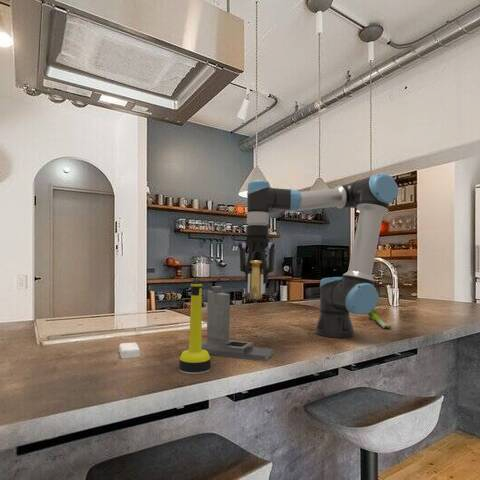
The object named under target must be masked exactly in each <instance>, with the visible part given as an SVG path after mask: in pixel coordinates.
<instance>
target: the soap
mask: <svg viewBox="0 0 480 480" xmlns="http://www.w3.org/2000/svg"><path fill="white" fill-rule="evenodd" d="M118 351H119V356H120V359H121V360H126V359H136V358H140V356H141V354H140V353H141V350H140V348H139V345H138V343H137V342H124V343H123V342H121V343H120V344H119V348H118Z"/></svg>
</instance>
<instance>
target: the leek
mask: <svg viewBox="0 0 480 480" xmlns="http://www.w3.org/2000/svg"><path fill="white" fill-rule="evenodd" d="M367 316H368V320H372V318H373V319H374V320H375V321H376V322H377V324H378V325H379V326H380V327H381V328H382V329H385V328H387V329H388V328H389V329H388V330H390V329H392V330H393V328H392V327H391V325H389V324H388V323H386V322H384V320H382V319H381V317H379V315H378V312H377V309H376V308H374V309H373V310H372V311H371V312H369V313H368V314H367Z"/></svg>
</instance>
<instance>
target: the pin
mask: <svg viewBox="0 0 480 480" xmlns="http://www.w3.org/2000/svg"><path fill="white" fill-rule="evenodd" d="M250 263H251V273H250V274H251V293H250V299H252V300H261V299H263V294H261V274H263V270H262V261H261V260H257V259H255V260H254V259H253V260H250Z"/></svg>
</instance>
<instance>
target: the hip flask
mask: <svg viewBox="0 0 480 480" xmlns="http://www.w3.org/2000/svg"><path fill="white" fill-rule="evenodd" d="M211 289H212V290H207V307H206V308H207V309H206V311H207V312H206V315H207V316H206V318H207V319H206V337H207V338H208V339H211V338H217V339H226V340H230V324H231V323H230V318H231V317H230V315H231V313H230V311H231V310H230V309H231V306H230V305H231V304H230V303H231V294H229V293H223V292H222V290H221V289H222V286H221V285H215V286H211Z"/></svg>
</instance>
